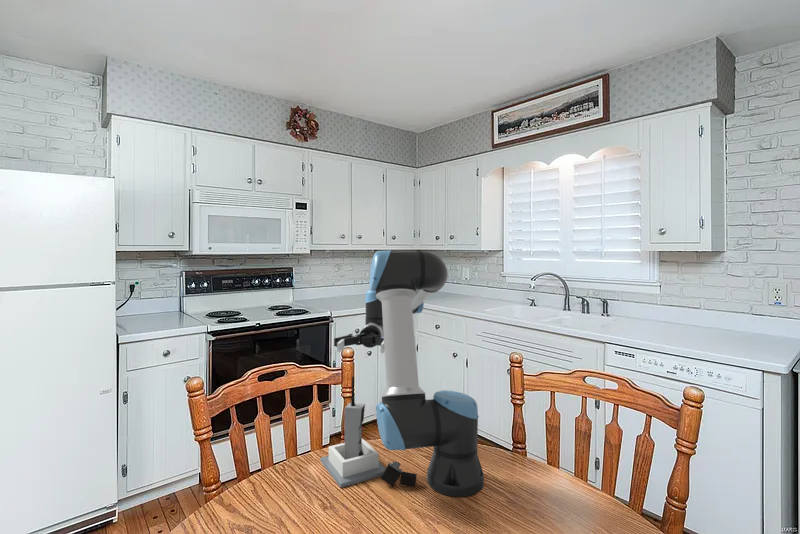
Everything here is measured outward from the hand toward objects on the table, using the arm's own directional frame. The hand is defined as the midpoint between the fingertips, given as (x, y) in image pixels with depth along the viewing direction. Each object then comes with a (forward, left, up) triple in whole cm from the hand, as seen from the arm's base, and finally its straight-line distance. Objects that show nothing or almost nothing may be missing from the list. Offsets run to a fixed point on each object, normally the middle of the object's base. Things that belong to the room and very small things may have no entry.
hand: (360, 348), depth 125 cm
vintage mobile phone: (-8, +5, -31) cm, 33 cm away
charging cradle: (-8, +6, -32) cm, 33 cm away
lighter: (-22, -1, -32) cm, 39 cm away
